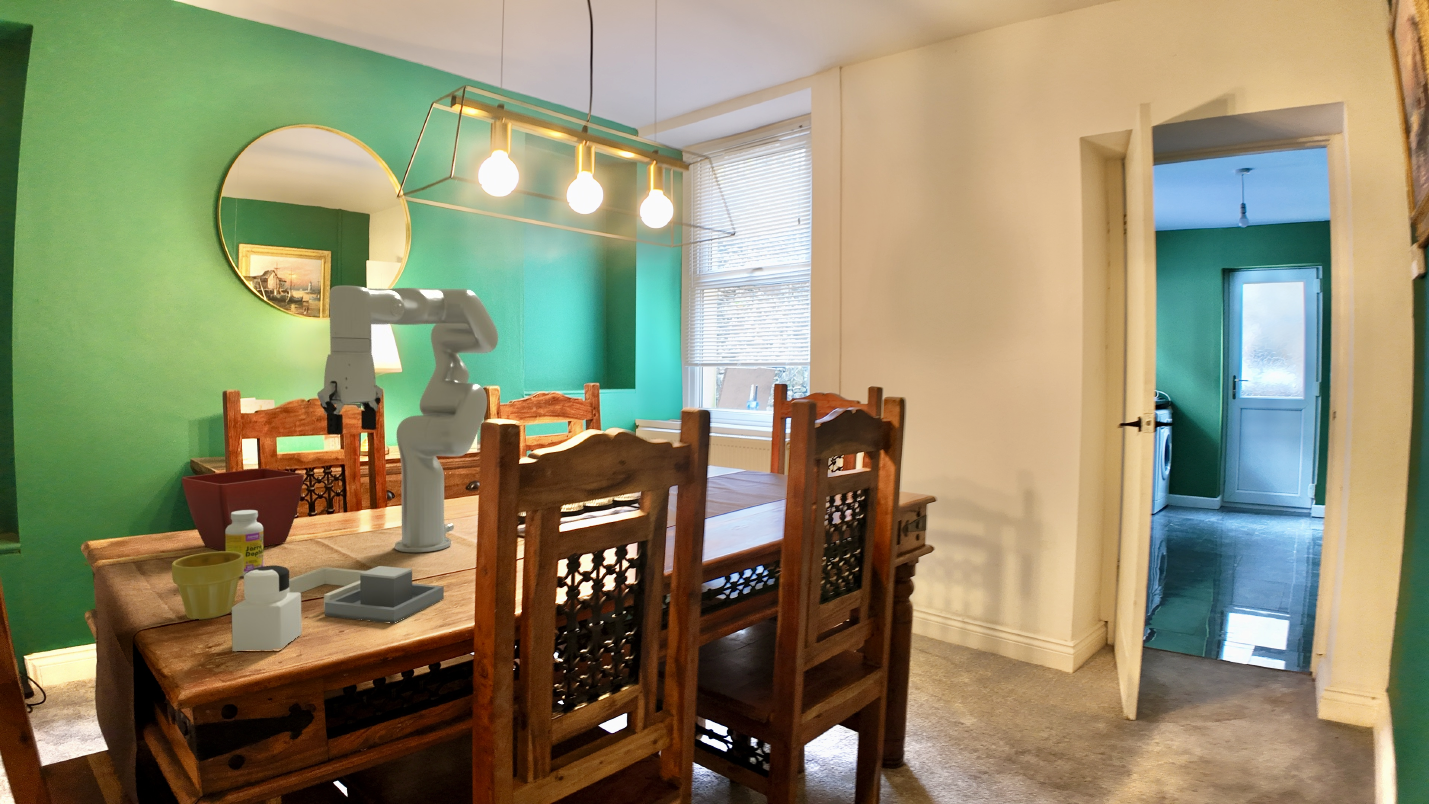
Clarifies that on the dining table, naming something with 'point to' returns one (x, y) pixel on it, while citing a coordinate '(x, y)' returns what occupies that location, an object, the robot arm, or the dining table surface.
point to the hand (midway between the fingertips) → (352, 431)
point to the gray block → (385, 586)
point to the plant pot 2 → (208, 582)
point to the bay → (327, 581)
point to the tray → (354, 609)
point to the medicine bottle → (266, 611)
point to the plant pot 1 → (243, 502)
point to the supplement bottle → (246, 538)
